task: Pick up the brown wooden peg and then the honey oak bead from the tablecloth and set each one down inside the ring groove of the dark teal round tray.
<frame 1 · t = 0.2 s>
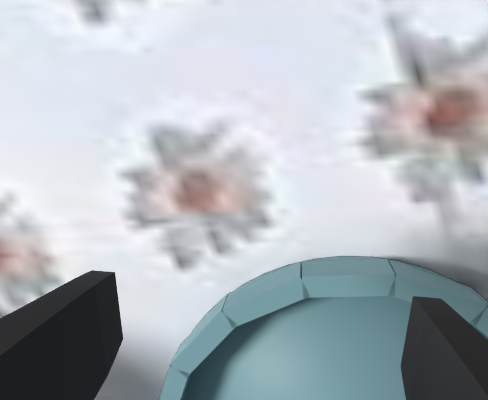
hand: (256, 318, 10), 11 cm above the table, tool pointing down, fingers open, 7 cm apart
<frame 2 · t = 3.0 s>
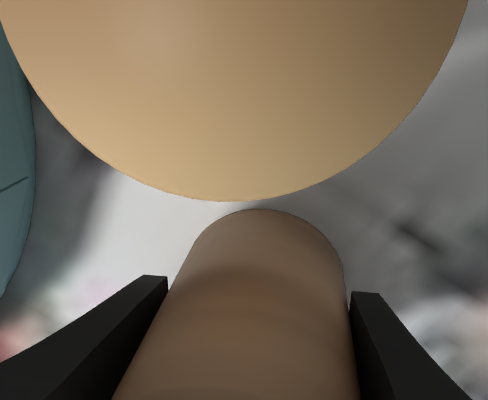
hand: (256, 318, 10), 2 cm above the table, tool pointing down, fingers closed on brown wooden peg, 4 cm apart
brown wooden peg: (263, 281, 12), on the table, touching gripper
oak bead: (269, 6, 9), on the table
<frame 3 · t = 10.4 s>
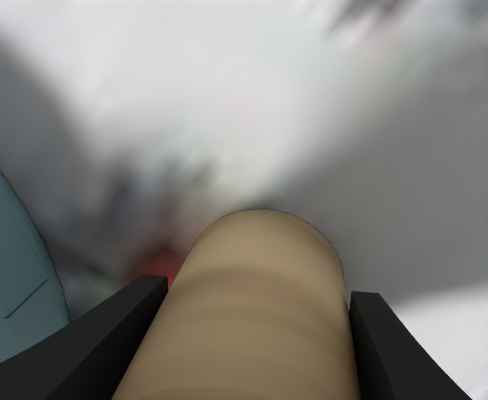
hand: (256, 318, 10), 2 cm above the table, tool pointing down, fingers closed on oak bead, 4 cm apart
oak bead: (263, 281, 12), on the table, touching gripper
when the fingers open (3 cm above the table, at t = 14.8 s): oak bead drops 1 cm, resting on ring tray.
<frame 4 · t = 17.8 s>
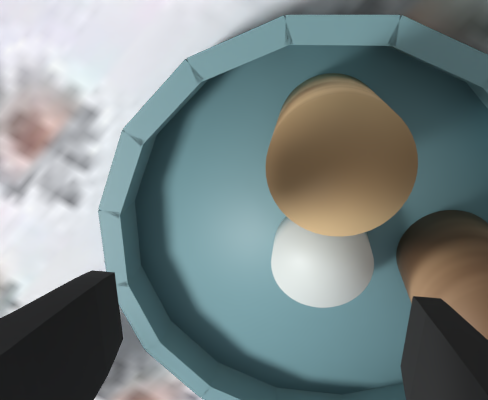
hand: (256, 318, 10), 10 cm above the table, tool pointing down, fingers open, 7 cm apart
brown wooden peg: (446, 254, 20), point 1 cm above the table, touching ring tray
ring tray: (320, 240, 21), on the table
oak bead: (329, 127, 18), point 1 cm above the table, touching ring tray
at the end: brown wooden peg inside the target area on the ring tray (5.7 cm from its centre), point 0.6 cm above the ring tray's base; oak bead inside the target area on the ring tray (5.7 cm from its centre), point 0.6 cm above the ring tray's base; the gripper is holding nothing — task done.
